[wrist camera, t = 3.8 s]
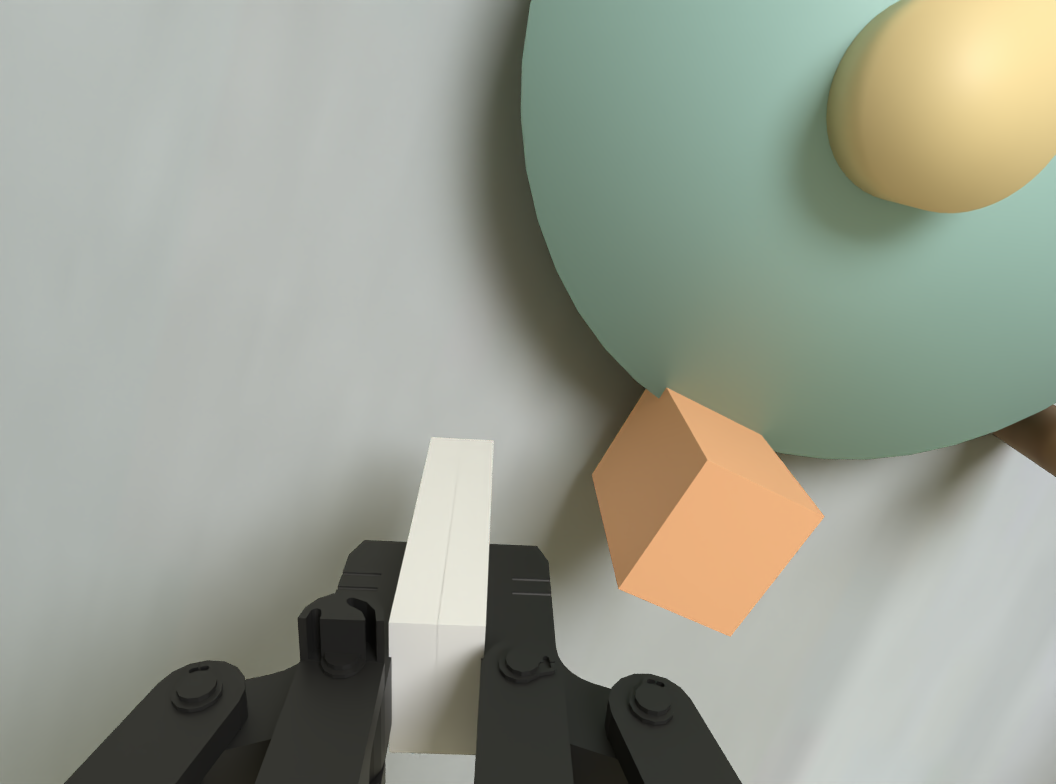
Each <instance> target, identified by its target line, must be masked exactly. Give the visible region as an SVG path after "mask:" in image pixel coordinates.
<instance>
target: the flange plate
mask: <svg viewBox="0 0 1056 784" xmlns="http://www.w3.org/2000/svg"><path fill="white" fill-rule="evenodd" d="M521 125H522V135H523V145H524V155H525V165H526V171H527V176H528V180H529V184H530V189H531V193H532V197H533V202H534V206H535V210H536V215H537V219H538V222H539V225H540V228H541V231H542V233H543V236H544V239H545V241H546V244H547V247H548V249H549V252H550V255H551V258H552V260H553V263H554V266H555V268H556V271H557V273H558V275H559V276H560V278H561V280H562V282H563V284H564V286H565V288H566V290H567V291H568V293H569V295H570V297H571V299H572V301H573V303H574V305H575V306H576V308H577V310H578V312H579V313H580V315H581V316H582V318H583V319H584V320H585V322H586V323H587V325H588V326H589V327H590V329H591V330H592V331H593V333H594V334H595V336H596V337H597V338H598V340H599V341H600V343H601V344H602V345H603V347H604V348H605V349H606V350H607V351H608V352H609V353H610V354H611V355H612V356H613V358H614V359H615V360H616V361H617V362H618V363H619V364H620V365H621V366H622V367H623V368H624V369H625V370H626V371H627V372H628V373H629V374H630V375H631V376H632V377H633V378H634V379H635V380H636V381H637V382H638V383H640V384H641V385H642V386H643V387H645V388H646V389H645V391H644V393H643V394H642V396H641V397H640V399H639V400H638V402H637V404H636V405H635V407H634V408H633V410H632V412H631V413H630V415H629V416H628V418H627V420H626V421H625V423H624V424H623V426H622V427H621V429H620V431H619V432H618V434H617V435H616V437H615V439H614V440H613V442H612V443H611V445H610V446H609V448H608V450H607V451H606V453H605V454H604V456H603V458H602V459H601V461H600V462H599V464H598V466H597V467H596V469H595V470H594V472H593V473H592V478H593V482H594V486H595V491H596V495H597V499H598V504H599V508H600V512H601V516H602V521H603V525H604V529H605V533H606V538H607V542H608V546H609V551H610V555H611V559H612V563H613V568H614V572H615V576H616V580H617V585H618V589H620V590H622V591H624V592H627V593H629V594H632V595H634V596H636V597H639V598H641V599H643V600H646V601H648V602H650V603H653V604H655V605H657V606H660V607H662V608H664V609H667V610H669V611H671V612H674V613H676V614H678V615H681V616H683V617H686V618H688V619H690V620H693V621H695V622H697V623H700V624H702V625H704V626H707V627H709V628H711V629H714V630H716V631H718V632H721V633H723V634H725V635H728V636H730V637H731V635H732V634H733V633H734V631H735V630H736V629H737V628H738V626H739V625H740V624H741V622H742V621H743V620H744V619H745V617H746V616H747V615H748V614H749V612H750V611H751V610H752V608H753V607H754V606H755V605H756V603H757V602H758V601H759V599H760V598H761V597H762V596H763V594H764V593H765V592H766V591H767V589H768V588H769V587H770V585H771V584H772V583H773V582H774V580H775V579H776V578H777V577H778V575H779V574H780V573H781V571H782V570H783V569H784V568H785V566H786V565H787V564H788V562H789V561H790V560H791V559H792V557H793V556H794V555H795V554H796V552H797V551H798V550H799V548H800V547H801V546H802V545H803V543H804V542H805V541H806V540H807V538H808V537H809V536H810V534H811V533H812V532H813V531H814V529H815V528H816V527H817V525H818V524H819V523H820V522H821V520H822V519H823V518H824V517H825V516H824V515H823V514H822V513H821V511H820V510H819V509H818V507H817V506H816V505H815V504H814V502H813V501H812V500H811V498H810V497H809V496H808V494H807V493H806V492H805V491H804V489H803V488H802V487H801V485H800V484H799V483H798V482H797V480H796V479H795V478H794V476H793V475H792V474H791V472H790V471H789V470H788V469H787V467H786V466H785V465H784V463H783V462H782V461H781V460H780V458H779V457H778V456H777V454H776V453H775V452H779V453H783V454H790V455H798V456H805V457H813V458H820V459H876V458H885V457H895V456H904V455H912V454H916V453H921V452H926V451H930V450H935V449H939V448H944V447H948V446H953V445H956V444H959V443H962V442H965V441H968V440H971V439H974V438H977V437H980V436H983V435H986V434H989V433H992V432H995V431H998V430H1000V429H1003V428H1005V427H1007V426H1009V425H1012V424H1014V423H1016V422H1018V421H1020V420H1023V419H1025V418H1027V417H1029V416H1032V415H1034V414H1036V413H1038V412H1040V411H1042V410H1044V409H1046V408H1048V407H1049V406H1051V405H1053V404H1055V403H1056V0H531V3H530V8H529V15H528V22H527V29H526V36H525V43H524V50H523V57H522V78H521ZM774 451H775V452H774Z"/></svg>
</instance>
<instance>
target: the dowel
mask: <svg viewBox="0 0 1056 784" xmlns="http://www.w3.org/2000/svg"><path fill="white" fill-rule="evenodd" d="M992 434H993V435H995V436H996V437H998V438H999V439H1001V440H1002V441H1004V442H1005V443H1007V444H1008V445H1009V446H1011V447H1012V448H1014V449H1015V450H1017V451H1018V452H1020V453H1021V454H1023V455H1024V456H1026V457H1027V458H1029V459H1030V460H1032V461H1033V462H1035V463H1036V464H1037V465H1039V466H1040V467H1042V468H1043V469H1045V470H1046V471H1048V472H1049V473H1051V474H1052V475H1054V476H1055V477H1056V406H1055V405H1051V406H1049V407H1048V408H1046V409H1044V410H1042V411H1040V412H1038V413H1036V414H1034V415H1032V416H1029V417H1027V418H1025V419H1023V420H1020V421H1018V422H1016V423H1014V424H1012V425H1009V426H1007V427H1005V428H1003V429H1000V430H998V431H995V432H992Z"/></svg>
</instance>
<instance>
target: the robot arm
mask: <svg viewBox="0 0 1056 784" xmlns="http://www.w3.org/2000/svg"><path fill="white" fill-rule="evenodd" d="M493 445H494V440H475V439H455V438H436V437H431V441H430V445H429V450H428V454H427V458H426V463H425V467H424V471H423V476H422V480H421V484H420V489H419V493H418V497H417V502H416V506H415V511H414V515H413V519H412V524H411V528H410V532H409V537H408V541H407V542H393V541H370V540H364V541H363V542H362V543H361V544H360V545H359V546H358V547H357V548H356V549H355V550H354V551H353V552H351V553H350V554H349V556H348V559H347V562H346V565H345V568H344V570H343V575H342V576H341V579H340V582H339V585H338V590H336V593H335V594H331V595H328V596H325V597H322V598H319V599H317V600H316V601H314V602H313V603H311V604H310V605H308V606H307V607H305V609H304V610H303V611H302V613H301V614H300V616H299V617H298V630H299V645H300V662H299V663H298V664H297V665H295V666H293V667H291V668H288V669H286V670H284V671H281V672H278V673H274V674H271V675H266V676H261V677H256V678H252V679H247V680H245V677H244V675H243V674H242V673H241V671H240V670H239V669H238V667H236V666H234V665H231V664H229V663H227V662H224V661H203V662H198V663H193V664H189V665H187V666H185V667H182V668H180V669H178V670H176V671H174V672H172V673H171V674H169V675H168V676H167V677H166V678H164V679H163V680H162V681H161V682H159V683H158V684H157V685H156V686H155V687H154V688H153V689H152V691H151V692H150V693H149V694H148V695H147V696H146V697H145V698H144V699H143V700H142V701H141V702H140V703H139V704H138V705H137V706H136V708H135V709H134V710H133V711H132V712H131V713H130V714H129V715H128V716H127V717H126V718H125V719H124V720H123V721H122V722H121V723H120V725H119V726H118V727H117V728H116V729H115V730H114V731H113V732H112V733H111V734H110V735H109V736H108V737H107V738H106V739H105V740H104V742H103V743H102V744H101V745H100V746H99V747H98V748H97V749H96V750H95V751H94V752H93V753H92V754H91V755H90V756H89V757H88V759H87V760H86V761H85V762H84V763H83V764H82V765H81V766H80V767H79V768H78V769H77V770H76V771H75V772H74V773H73V775H72V776H71V777H70V778H69V779H68V780H67V781H66V782H65V783H64V784H385V758H386V753H387V747H388V742H389V752H392V753H426V754H461V755H476V761H475V778H474V784H742V783H741V781H740V780H739V778H738V776H737V775H736V773H735V771H734V770H733V768H732V766H731V765H730V763H729V761H728V760H727V758H726V756H725V755H724V753H723V752H722V750H721V748H720V747H719V745H718V743H717V742H716V740H715V738H714V737H713V735H712V733H711V732H710V730H709V728H708V727H707V725H706V724H705V722H704V720H703V719H702V717H701V715H700V714H699V712H698V710H697V709H696V707H695V705H694V704H693V702H692V700H691V699H690V698H689V697H688V695H687V694H686V693H685V692H684V691H683V690H682V689H681V687H679V686H677V685H676V684H674V683H673V682H671V681H669V680H668V679H666V678H663V677H659V676H656V675H652V674H633V675H630V676H627V677H624V678H621V679H620V680H619V681H618V682H617V683H616V684H615V685H614V686H613V687H612V689H610V688H606V687H603V686H600V685H596V684H593V683H591V682H588V681H586V680H583V679H581V678H579V677H578V676H576V675H575V674H573V673H572V672H570V671H569V670H568V669H567V668H566V667H565V666H564V665H563V663H562V661H561V660H560V658H559V657H558V653H557V650H556V643H555V631H554V620H553V609H552V597H551V586H550V575H549V563H548V560H547V559H546V558H545V556H544V555H543V554H542V552H541V551H540V550H539V548H538V547H537V546H522V545H500V544H489V539H490V515H491V492H492V468H493Z"/></svg>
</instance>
